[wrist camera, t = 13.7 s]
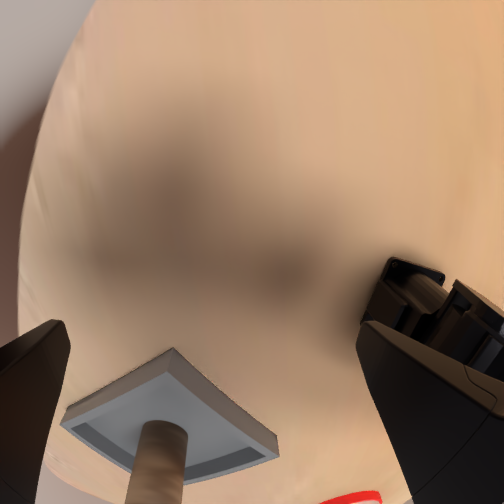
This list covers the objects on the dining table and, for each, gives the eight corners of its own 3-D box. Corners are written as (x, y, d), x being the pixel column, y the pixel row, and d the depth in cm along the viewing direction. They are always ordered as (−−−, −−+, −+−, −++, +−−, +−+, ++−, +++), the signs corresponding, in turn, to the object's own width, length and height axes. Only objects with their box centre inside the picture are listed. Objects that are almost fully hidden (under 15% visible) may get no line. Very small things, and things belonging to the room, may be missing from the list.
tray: (173, 347, 23) (167, 371, 21) (276, 435, 28) (279, 456, 26) (68, 406, 26) (59, 424, 23) (163, 472, 31) (161, 489, 28)
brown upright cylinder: (197, 433, 27) (190, 524, 16) (174, 450, 28) (164, 531, 17) (154, 413, 25) (134, 507, 15) (135, 432, 26) (115, 515, 16)
